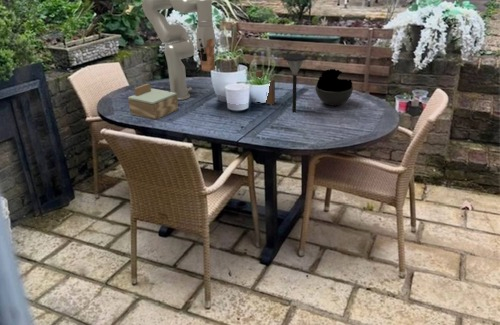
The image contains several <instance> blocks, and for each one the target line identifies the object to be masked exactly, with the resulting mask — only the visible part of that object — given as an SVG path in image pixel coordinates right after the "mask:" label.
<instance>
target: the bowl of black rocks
mask: <svg viewBox="0 0 500 325" xmlns="http://www.w3.org/2000/svg"><path fill="white" fill-rule="evenodd" d="M341 74H343V71H341V70H339V69H336V68H330V69H327V70H324V71H323V72H322V73H321V76H320V77H319V78H318V80H317V82H316V85H315V93H316V95H317V97H318V99H319V100H320V101H321V102H323V104H325V105H329V106H339V105H342V104H344V103H345V102H347V101H349V99H350V97H351V96H352V93H353V92H354V91H353V90H354V86H353V80H352V79H349V80H348V79H343V78H342V79H341V78H338V77H340V75H341Z"/></svg>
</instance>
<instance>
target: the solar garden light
mask: <svg viewBox="0 0 500 325" xmlns="http://www.w3.org/2000/svg"><path fill="white" fill-rule="evenodd" d="M282 58H283V59H282V60H284V61H287V64H288V66H289V69H290V72H291V73H292V107H291V108H292V109H291V110H292V113H294V112H295V113H296V112H297V77H298V76H297V75H298V72H299V71H300V69H301V66H302V64H303V62H304V61H307V60H308V57H307V56H304V55H303V54H301V53H290V54H288V55H286V56H284V57H282Z"/></svg>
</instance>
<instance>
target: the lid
mask: <svg viewBox="0 0 500 325" xmlns="http://www.w3.org/2000/svg"><path fill="white" fill-rule="evenodd" d="M133 91H134V95H131V96H130V95H129V96H128V97H127V99H128V100H129V99H130V100H135V101H140V102H144V103H149V104H155V103H158V102H160V101H163V100H165V99H168V98H170V97H173V96H175V95H177V93H174V92H171V91H168V90H162V89H157V88H152V87H151V84H150V83H145V84H142V85H139V86H136V87H134V88H133Z"/></svg>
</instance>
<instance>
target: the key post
mask: <svg viewBox="0 0 500 325" xmlns="http://www.w3.org/2000/svg"><path fill="white" fill-rule="evenodd" d="M202 47H203V46H202ZM203 50H204V48H203ZM206 54H207V61H202V60H201V59H200V64H201V71H205V72H211V71H214V70H216V63H215V62H216V61H215V47H214V43H213V38H212V39H209V40H207V47H206Z"/></svg>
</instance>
